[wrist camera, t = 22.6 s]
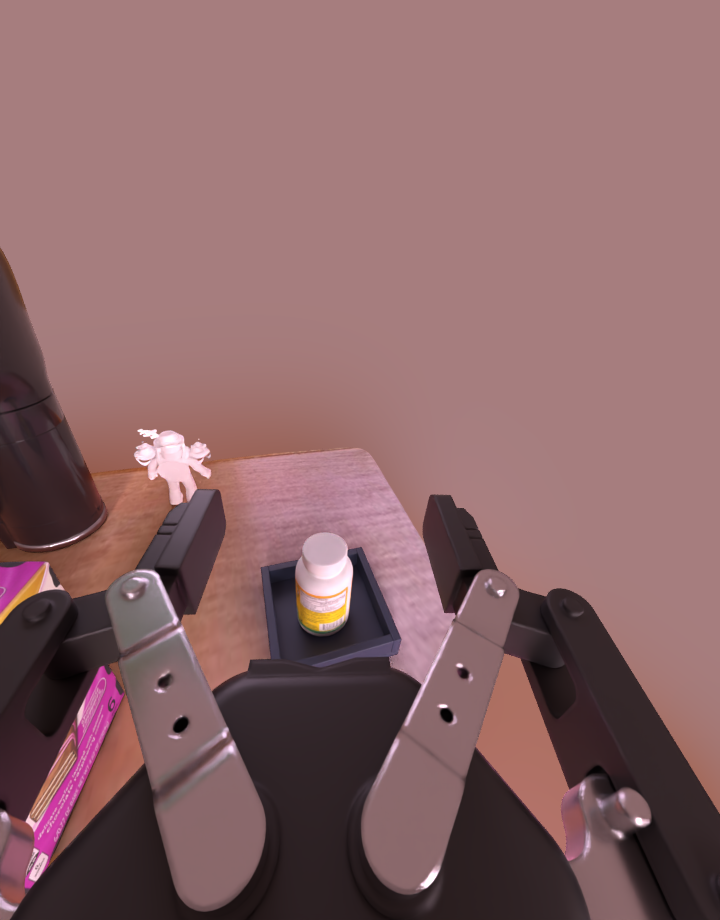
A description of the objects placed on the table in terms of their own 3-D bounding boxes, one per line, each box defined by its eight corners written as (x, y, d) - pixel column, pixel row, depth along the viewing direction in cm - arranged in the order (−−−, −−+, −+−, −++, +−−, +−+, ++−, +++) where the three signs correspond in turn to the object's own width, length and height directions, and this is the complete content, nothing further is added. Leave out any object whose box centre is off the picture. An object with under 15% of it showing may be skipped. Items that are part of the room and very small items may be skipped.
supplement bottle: (334, 648, 33) (337, 583, 27) (286, 623, 34) (281, 558, 29) (357, 602, 37) (364, 539, 32) (314, 583, 38) (314, 519, 33)
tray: (275, 692, 30) (272, 677, 28) (262, 582, 39) (260, 567, 37) (397, 654, 33) (401, 639, 32) (360, 561, 42) (361, 546, 41)
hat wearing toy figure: (147, 509, 47) (119, 432, 40) (156, 492, 50) (132, 418, 44) (216, 506, 49) (201, 431, 42) (221, 489, 52) (207, 417, 45)
